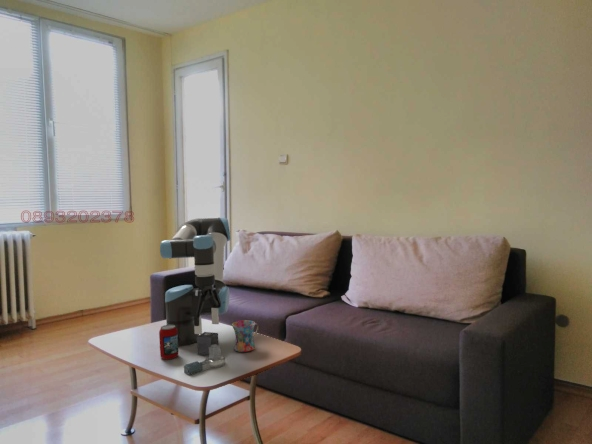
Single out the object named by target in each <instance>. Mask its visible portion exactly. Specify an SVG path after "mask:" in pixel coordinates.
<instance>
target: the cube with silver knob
mask: <svg viewBox="0 0 592 444" xmlns="http://www.w3.org/2000/svg"><path fill="white" fill-rule="evenodd" d="M214 344H216V345H218V346H219V333H218V332H213V331H212V332H210V331H204V332H202V334H199V336H197V342H196V346H197V355H198V356H206V357H207V356H208V357H209V347H211V345H214ZM219 347H220V346H219Z"/></svg>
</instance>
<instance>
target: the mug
mask: <svg viewBox="0 0 592 444" xmlns="http://www.w3.org/2000/svg"><path fill="white" fill-rule="evenodd" d="M231 326H232V329H233V332H234V334H235V343H234V347H233V349H234V351H236V352H240V353H246V352H251V351H254V350H255V349H256V344H255V342H254V339H253V338H254V337H255V336H256V335H257V333H258V331H259V327H260V326H259V323H256V322H255V321H253V320H248V319H247V320H246V319H245V320H238V321H234V322H233V323H232V324H231ZM255 326H256V331H254V329H255Z"/></svg>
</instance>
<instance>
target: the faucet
mask: <svg viewBox="0 0 592 444" xmlns="http://www.w3.org/2000/svg"><path fill="white" fill-rule="evenodd" d="M225 365H226V358H225V357H224V356H223V355H221V347H220V346H218V345H216V344H214V345H211V347H209V356H208V357H207V358H205V360H203V361H200V362H199V360H196V361H193V362H190V363H187V364H183V372H184V373H185V374H186V375H188V376H192V375H195V374H198V373H202V372H204V371H206V370H210V369H218V368H222V367H224V366H225Z"/></svg>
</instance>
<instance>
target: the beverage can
mask: <svg viewBox="0 0 592 444" xmlns="http://www.w3.org/2000/svg"><path fill="white" fill-rule="evenodd" d="M158 335H159V337H158V339H159V351H160V352H159V353H160V358H162V359H163V360H172V359H173V360H174V359H175V358H177V356H179V346H178V334H177V329H176V327H175V325H166V324H165V325H162V326H160V329H159V333H158Z"/></svg>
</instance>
